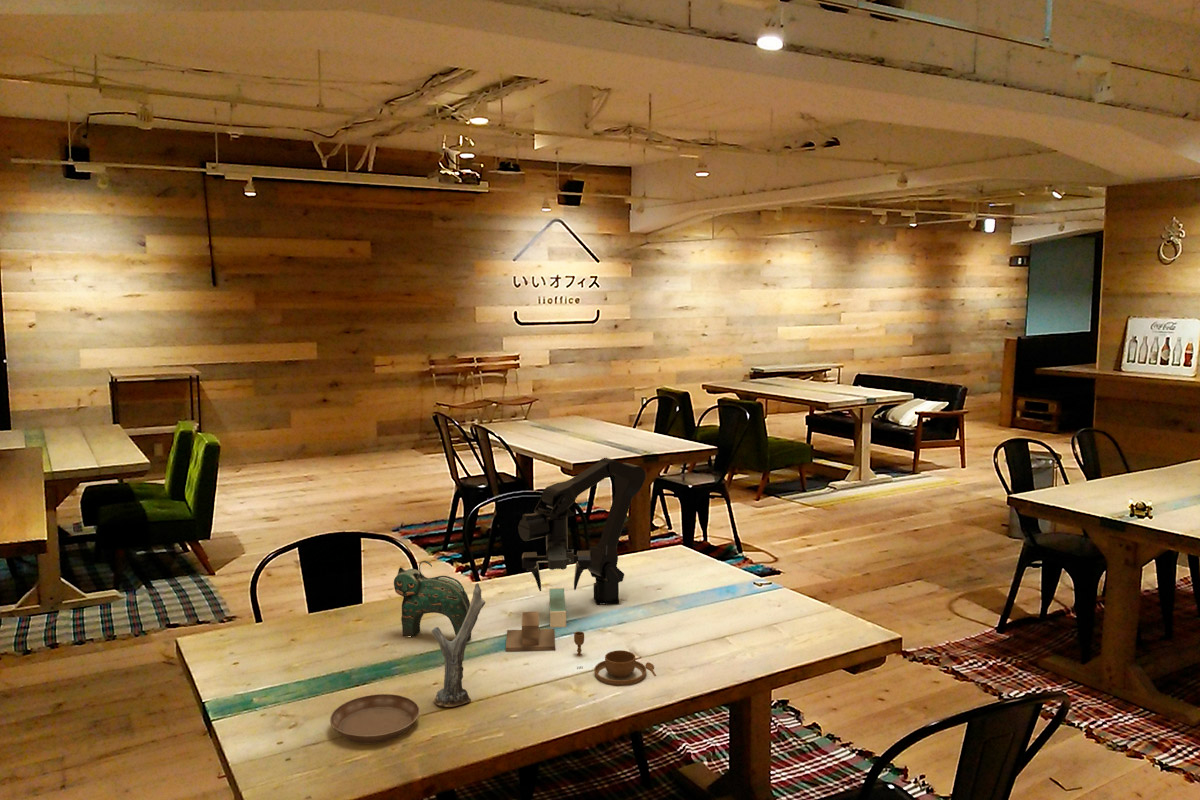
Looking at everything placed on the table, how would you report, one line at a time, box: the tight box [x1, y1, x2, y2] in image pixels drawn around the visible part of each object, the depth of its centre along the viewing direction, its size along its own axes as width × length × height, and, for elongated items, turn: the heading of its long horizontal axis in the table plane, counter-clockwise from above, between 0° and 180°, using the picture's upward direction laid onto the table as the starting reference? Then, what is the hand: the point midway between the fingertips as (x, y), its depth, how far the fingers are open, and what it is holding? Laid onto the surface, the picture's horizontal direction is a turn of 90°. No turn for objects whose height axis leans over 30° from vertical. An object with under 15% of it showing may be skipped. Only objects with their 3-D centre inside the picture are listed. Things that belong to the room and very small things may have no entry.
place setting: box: [573, 631, 657, 686], centre depth 214 cm, size 18×20×6 cm
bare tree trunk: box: [431, 582, 486, 708], centre depth 197 cm, size 12×8×25 cm
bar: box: [548, 587, 567, 629], centre depth 246 cm, size 18×4×4 cm, turn 4°
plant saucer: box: [329, 693, 421, 745], centre depth 187 cm, size 18×18×3 cm
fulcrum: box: [505, 611, 556, 653], centre depth 228 cm, size 12×11×6 cm
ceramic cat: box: [393, 560, 472, 643], centre depth 230 cm, size 20×6×20 cm, turn 73°
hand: (557, 590), depth 246 cm, fingers open, 9 cm apart
